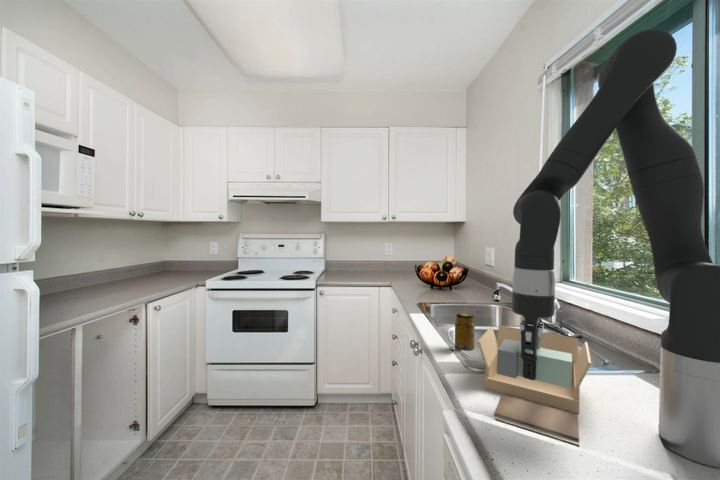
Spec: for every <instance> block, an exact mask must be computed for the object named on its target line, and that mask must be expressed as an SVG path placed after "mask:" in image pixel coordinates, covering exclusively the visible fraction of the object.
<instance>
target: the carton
mask: <svg viewBox="0 0 720 480" xmlns="http://www.w3.org/2000/svg"><path fill="white" fill-rule="evenodd" d="M497 331H498V332H497V337H496V335H495V331H494V328H493V326H489V327H488V329H487V330H486V331H485V332H484V334H483V335H481V337H480V338H479V340H478V341H477V344H478V348H479V351H480V353H481V356H482V360H483V362H484V365H485V367H484V380H483V381H484V383H483V386H484V387H483V388H484V389H486V390H490V391H494V392H498V393H501V394H504V395H508V396H511V397H515V398H519V399H522V400H526V401H530V402H533V403H537V404H541V405H544V406H548V407H552V408H555V409H559V410H563V411H566V412H570V413H574V414H577V415H579V414H580V387H581V384H582V382H583V381H584V379H585V377H586V375H587V373H588V371H589V369H590V367H591V366H592V360H591V354H590V349H589V344H588V342H587V341H584V343H583V345H582V347H581V349H580V351H579V353H578V350H579V349H578V348H579V347H578V346H579V345H578V340H579V338H578V337H575V336H568V335H560V334H554V333H548V332H543V334H542V343H541V346H540V348H544V349H549V350H555V351H560V352H565V353H570V354H572V378H571V389H570V388H565V387H561V386H557V385H553V384H549V383H545V382H541V381H537V380H530V379H526V378H524V377H520V376H517V378H512V377H508V376H504V375H500V374H497V359H498V348H499V347H500V345H501V344H502V342H503V340H504V339H508V340H513V341H519V342H520V341H521V331H520V328H516V327H510V326H504V325H498V330H497Z"/></svg>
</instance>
